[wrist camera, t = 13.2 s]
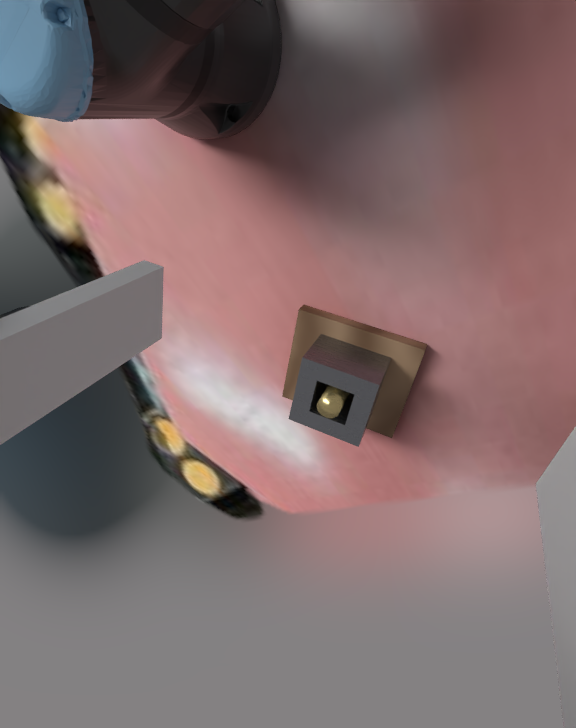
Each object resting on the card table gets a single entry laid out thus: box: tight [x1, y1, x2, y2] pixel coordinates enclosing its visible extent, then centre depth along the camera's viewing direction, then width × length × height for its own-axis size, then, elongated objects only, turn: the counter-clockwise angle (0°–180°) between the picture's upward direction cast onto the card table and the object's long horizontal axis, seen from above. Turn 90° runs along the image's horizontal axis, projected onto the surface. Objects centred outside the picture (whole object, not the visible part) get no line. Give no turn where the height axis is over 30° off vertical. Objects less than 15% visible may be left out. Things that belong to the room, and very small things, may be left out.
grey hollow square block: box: [289, 334, 391, 447], centre depth 48 cm, size 8×8×6 cm
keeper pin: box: [317, 385, 350, 418], centre depth 47 cm, size 2×2×7 cm
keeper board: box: [282, 305, 427, 438], centre depth 51 cm, size 14×12×2 cm
